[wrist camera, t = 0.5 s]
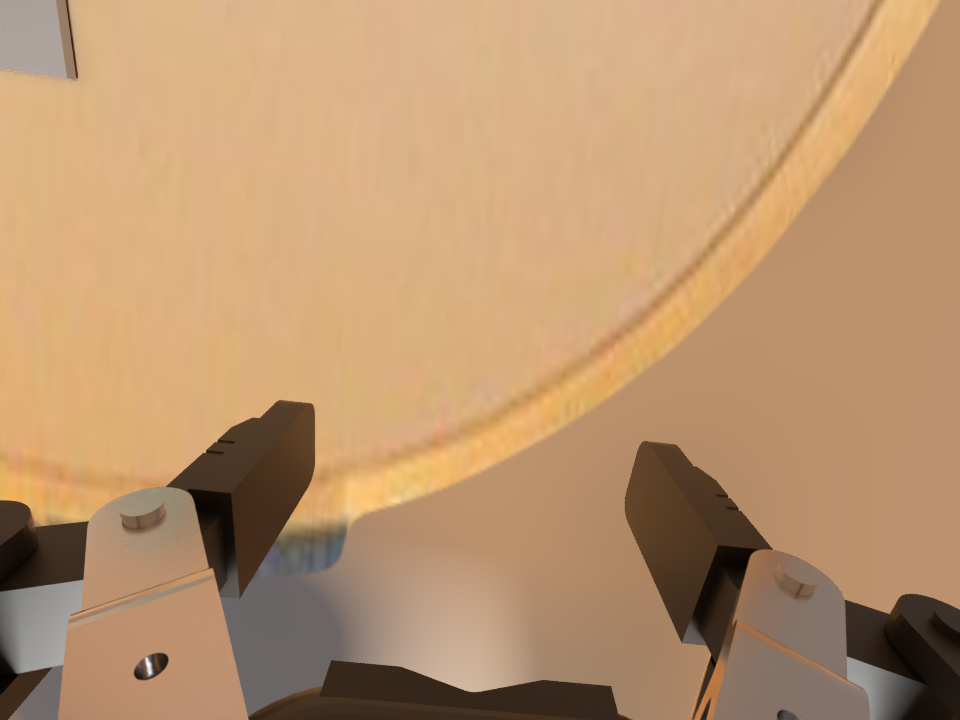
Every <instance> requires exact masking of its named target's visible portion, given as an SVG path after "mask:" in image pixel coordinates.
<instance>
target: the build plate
mask: <svg viewBox="0 0 960 720" xmlns="http://www.w3.org/2000/svg"><path fill="white" fill-rule="evenodd" d="M0 70H6V71H13V72H19V73H26V74H33V75H40V76H47V77H53V78H60V79H67V80H74V81H77V80H76V73H75V66H74V58H73V51H72V44H71V36H70V29H69V22H68V14H67V7H66V0H0Z"/></svg>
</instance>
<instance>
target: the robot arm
mask: <svg viewBox="0 0 960 720" xmlns="http://www.w3.org/2000/svg"><path fill="white" fill-rule="evenodd" d="M314 466H315V411H314V407H313V405H312V404H311V403H302V402H293V401H284V400H279V401H277V402H276V403H275V404H274V405H273V406H272V407H271V408H270V409H269V410H268V411H267V412H266V413H265V414H264V415H263V416H262V417H261V418H251V419H249V420H246V421H244V422H242V423H240V424H238V425H236V426H233V427H232V428H230V429H229V430H228V431H227V432H226V433H225V434H224V435H223V436H222V437H220V438H219V439H218V442H215V443H214V444H213V445H212V446H210V447H209V448H208V449H207V450H206V453H203V454H202V455H200V456H199V457H198V458H197V459H196V460H195V461H194V462H193V463H192V464H190V465H189V466H188V467H187V468H186V469H185V470H184V471H183V472H182V473H180V474H179V475H178V476H177V477H176V478H175V479H174V480H173V481H172V482H171V483H169V484H168V485H167V486H166V487H157V488H149V489H143V490H139V491H136V492H132V493H129V494H126V495H124V496H121V497H119V498H117V499H115V500H113V501H111V502H109V503H108V504H106V505H105V506H103V507H102V508H101V509H99V510H98V511H97V512H96V513H95V514H94V515H93V516H92V518H91V519H90V521H87V522H78V523H69V524H60V525H51V526H41V527H35V526H34V522H33V519H32V515H31V511H30V508H29V507H28V506H27V505H25V504H23V503H20V502H17V501H7V500H0V720H8V719H9V718H10V716H11V715H12V714H13V713H14V712H15V711H16V710H17V708H18V707H19V706H20V705H21V704H22V703H23V701H24V700H25V699H26V698H27V697H28V695H29V694H30V693H31V692H32V691H33V689H35V687H36V686H37V685H38V684H39V683H40V681H41V680H42V679H43V678H44V677H45V676H46V674H47V673H48V672H49V671H50V670H51V669H52V667H54V666H59V665H63V675H62V685H61V695H60V706H59V714H58V720H631V719H629V718H627V717H625V716H622V715H620V714H618V712H617V708H616V704H615V700H614V696H613V692H612V688H611V686H602V685H592V684H591V685H590V684H581V683H580V684H579V683H569V682H558V681H548V680H541V681H536V682H530V683H525V684H519V685H514V686H509V687H503V688H498V689H493V690H487V691H482V692H468V691H464V690H462V689H459V688H456V687H454V686H451V685H448V684H445V683H443V682H440V681H437V680H435V679H432V678H429V677H427V676H424V675H422V674H419V673H416V672H414V671H411V670H408V669H405V668H403V667H397V666H386V665H375V664H365V663H354V662H343V661H332V660H331V663H330V666H329V669H328V672H327V675H326V678H325V681H324V685H323V686H321V687H316V688H311V689H307V690H304V691H301V692H298V693H294V694H291V695H289V696H287V697H284V698H282V699H280V700H277V701H275V702H273V703H271V704H269V705H267V706H266V707H264V708H262V709H260V710H258V711H256V712H255V713H253V714H252V715H250V716H249V717H248V715H247V711H246V706H245V702H244V698H243V694H242V689H241V685H240V681H239V677H238V672H237V668H236V664H235V660H234V655H233V651H232V647H231V643H230V638H229V635H228V630H227V626H226V621H225V617H224V613H223V609H222V604H221V600H220V597H227V598H238V599H240V597H241V596H242V594H243V592H244V591H245V589H246V587H247V586H248V584H249V583H250V581H251V579H252V578H253V576H254V575H255V573H256V571H257V570H258V568H259V566H260V565H261V563H262V562H263V560H264V558H265V557H266V555H267V553H268V552H269V550H270V548H271V547H272V545H273V544H274V542H275V540H276V539H277V537H278V535H279V534H280V532H281V531H282V529H283V527H284V526H285V524H286V522H287V521H288V519H289V517H290V516H291V514H292V513H293V511H294V509H295V508H296V506H297V504H298V503H299V501H300V500H301V498H302V496H303V495H304V493H305V491H306V490H307V488H308V486H309V484H310V482H311V479H312V476H313V472H314ZM625 514H626V518H627V521H628V524H629V526H630V528H631V530H632V533H633V534H634V537H635V539H636V541H637V544H638V546H639V548H640V550H641V553H642V555H643V557H644V559H645V562H646V564H647V566H648V568H649V571H650V573H651V575H652V577H653V579H654V582H655V584H656V586H657V589H658V591H659V593H660V595H661V598H662V600H663V602H664V604H665V607H666V609H667V611H668V613H669V615H670V618H671V620H672V622H673V624H674V627H675V629H676V631H677V633H678V636H679V638H680V640H681V642H682V643H687V644H697V645H707V646H708V649H709V651H710V652H711V655H710V657H709V660H708V662H707V665H706V667H705V670H704V674H703V677H702V680H701V683H700V687H699V690H698V693H697V697H696V700H695V703H694V706H693V710H692V713H691V716H690V720H960V610H959V609H957V608H955V607H953V606H951V605H948V604H946V603H944V602H942V601H939V600H936V599H934V598H930V597H927V596H923V595H918V594H905V595H902V596H901V597H900V598H899V599H898V601H897V602H896V604H895V606H894V608H893V609H892V611H891V613H890V614H887V613H884V612H881V611H878V610H875V609H872V608H869V607H866V606H863V605H860V604H857V603H853V602H850V601H847V600H844V597H843V595H842V593H841V591H840V590H839V588H838V587H837V586H836V585H835V584H834V582H833V581H832V580H830V579H829V578H828V577H827V576H826V575H825V574H824V573H822V572H821V571H820V570H818V569H817V568H815V567H814V566H812V565H811V564H809V563H807V562H805V561H804V560H801V559H800V558H798V557H795V556H793V555H790V554H787V553H784V552H781V551H776V550H773V549H772V548H771V547H770V545H769V544H768V543H767V542H766V541H765V539H764V538H763V537H762V536H761V535H760V533H759V532H758V531H757V530H756V528H755V527H754V526H753V525H752V524H751V523H750V521H749V520H748V519H747V518H746V516H745V515H744V514H743V513H742V512H741V511H739V510H738V507H737V506H736V504H735V503H734V502H733V501H732V500H731V499H730V498H728V495H727V494H726V492H725V491H724V490H723V489H722V487H721V486H720V485H719V484H718V482H717V481H716V480H714V479H713V478H712V477H710V476H709V475H707V474H706V473H705V472H703V471H702V470H701V469H699V468H698V467H694V466H693V465H692V464H691V462H690V461H689V460H688V459H687V457H686V456H685V455H684V453H683V452H682V451H681V450H680V448H679V447H678V446H677V445H675V444H667V443H658V442H648V441H644V442H642V443H641V445H640V446H639V449H638V451H637V456H636V459H635V463H634V466H633V470H632V474H631V478H630V481H629V485H628V488H627V492H626V497H625Z"/></svg>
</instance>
